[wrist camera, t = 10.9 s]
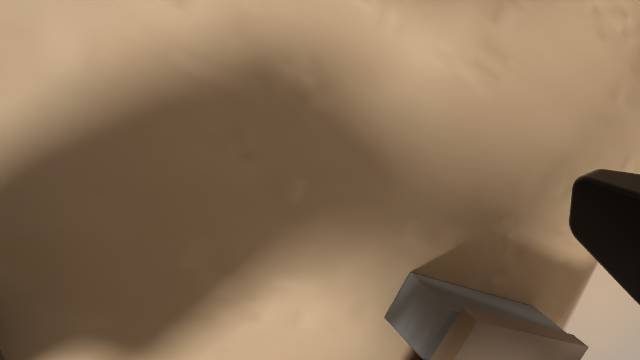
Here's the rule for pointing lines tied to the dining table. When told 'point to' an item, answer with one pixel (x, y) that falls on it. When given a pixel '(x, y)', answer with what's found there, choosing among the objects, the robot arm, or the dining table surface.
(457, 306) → the plank bridge
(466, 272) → the dining table surface
